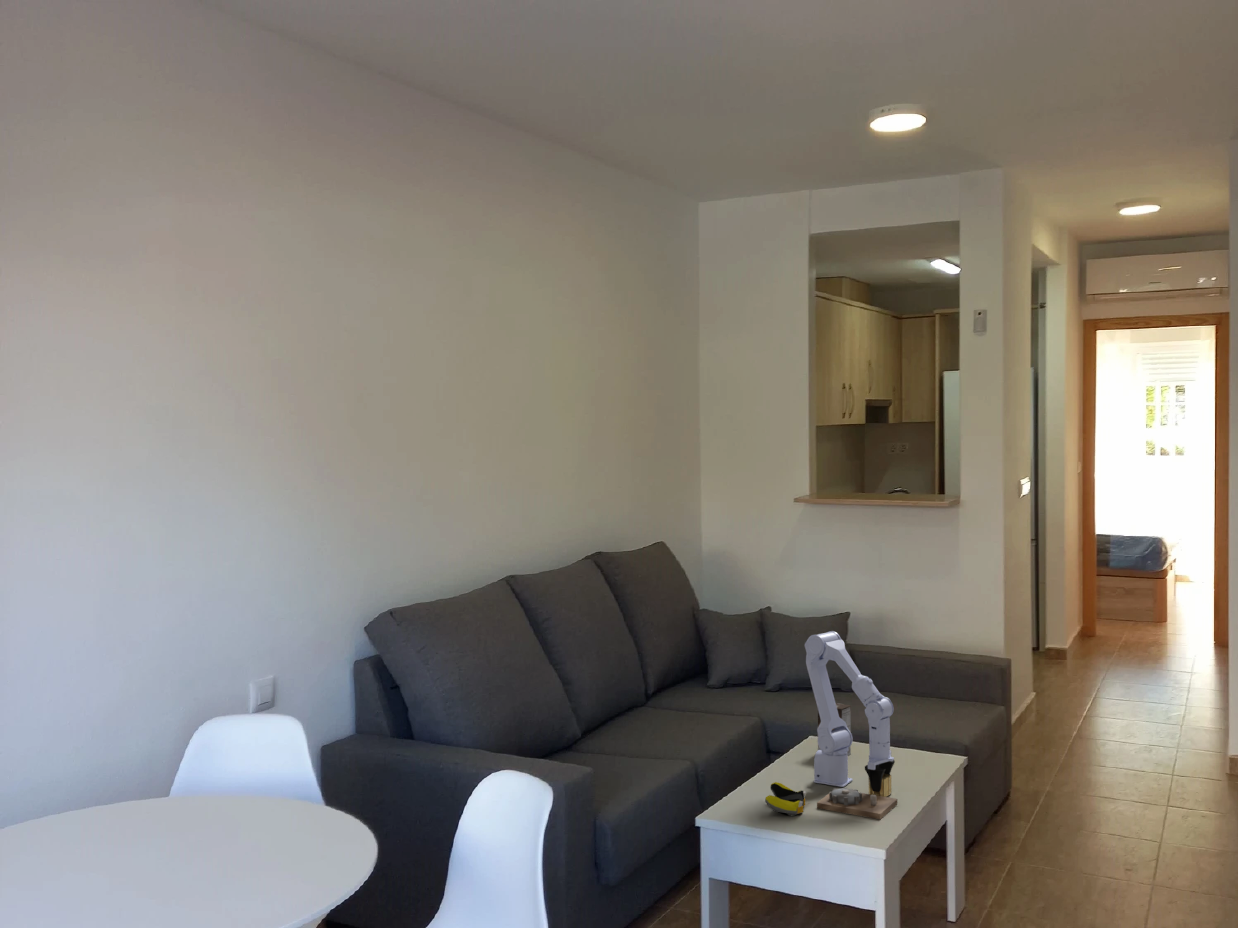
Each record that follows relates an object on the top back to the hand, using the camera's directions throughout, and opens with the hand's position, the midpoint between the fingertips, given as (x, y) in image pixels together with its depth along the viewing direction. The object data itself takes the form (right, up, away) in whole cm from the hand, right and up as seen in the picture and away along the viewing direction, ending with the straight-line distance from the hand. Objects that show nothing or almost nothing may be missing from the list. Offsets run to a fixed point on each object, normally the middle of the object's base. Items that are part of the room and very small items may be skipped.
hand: (880, 788), depth 309 cm
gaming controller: (-29, -3, -11) cm, 31 cm away
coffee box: (-5, -1, +40) cm, 41 cm away
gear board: (-9, -2, -10) cm, 13 cm away
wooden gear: (0, -1, 0) cm, 1 cm away
